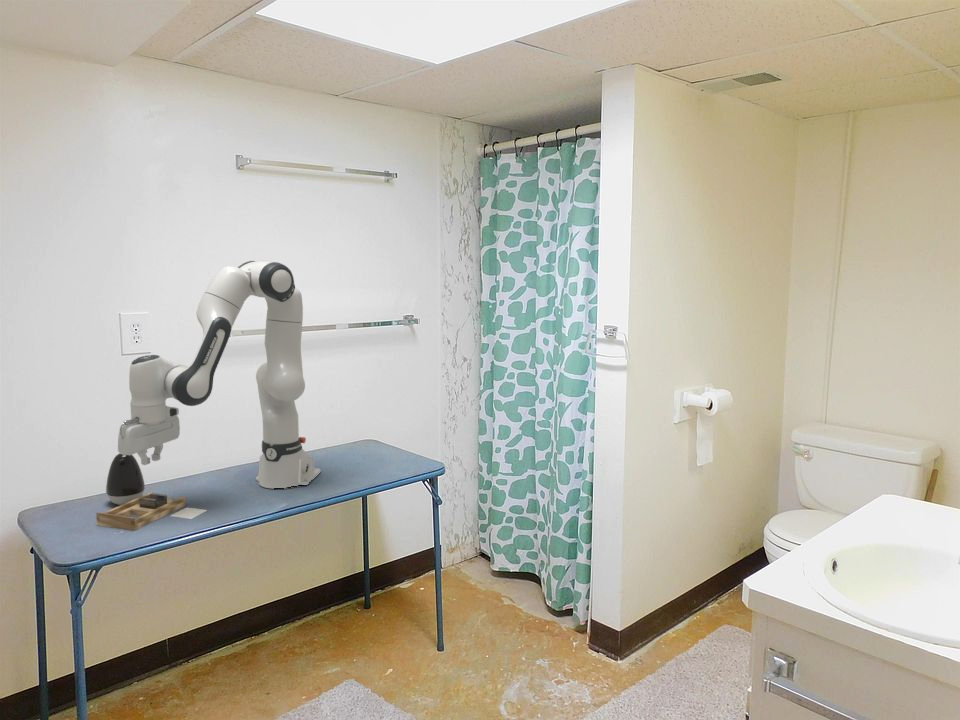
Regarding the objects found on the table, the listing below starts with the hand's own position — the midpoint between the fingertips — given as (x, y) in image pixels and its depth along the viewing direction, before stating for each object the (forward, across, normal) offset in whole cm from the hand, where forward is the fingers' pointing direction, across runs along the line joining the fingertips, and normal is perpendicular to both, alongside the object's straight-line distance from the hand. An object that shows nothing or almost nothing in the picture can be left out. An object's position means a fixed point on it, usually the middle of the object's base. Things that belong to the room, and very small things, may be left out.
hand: (151, 462), depth 196 cm
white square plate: (+15, +1, -11) cm, 19 cm away
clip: (+13, 0, 0) cm, 13 cm away
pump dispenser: (+15, +5, +14) cm, 21 cm away
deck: (+15, -4, 0) cm, 16 cm away
